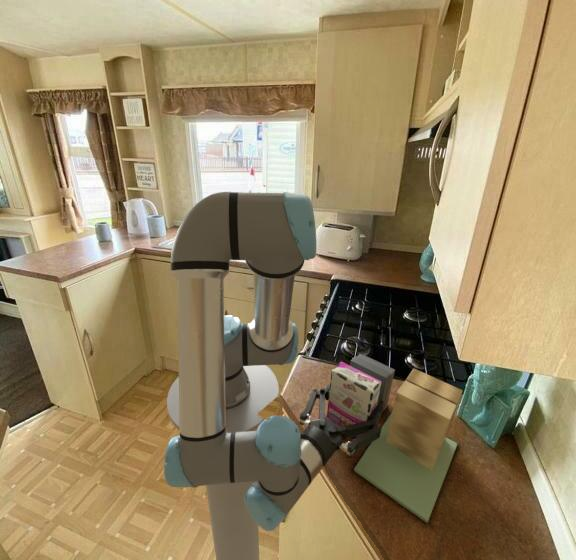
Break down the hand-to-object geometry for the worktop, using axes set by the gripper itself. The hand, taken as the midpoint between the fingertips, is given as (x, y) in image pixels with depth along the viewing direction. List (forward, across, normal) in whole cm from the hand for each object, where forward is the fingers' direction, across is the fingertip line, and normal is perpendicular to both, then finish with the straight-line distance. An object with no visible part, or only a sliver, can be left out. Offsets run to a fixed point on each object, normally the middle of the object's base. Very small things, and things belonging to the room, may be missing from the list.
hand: (360, 392), depth 80 cm
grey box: (+6, 0, -8) cm, 10 cm away
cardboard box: (+2, +15, -7) cm, 17 cm away
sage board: (-3, +15, -8) cm, 17 cm away
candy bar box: (-4, 0, -8) cm, 9 cm away
